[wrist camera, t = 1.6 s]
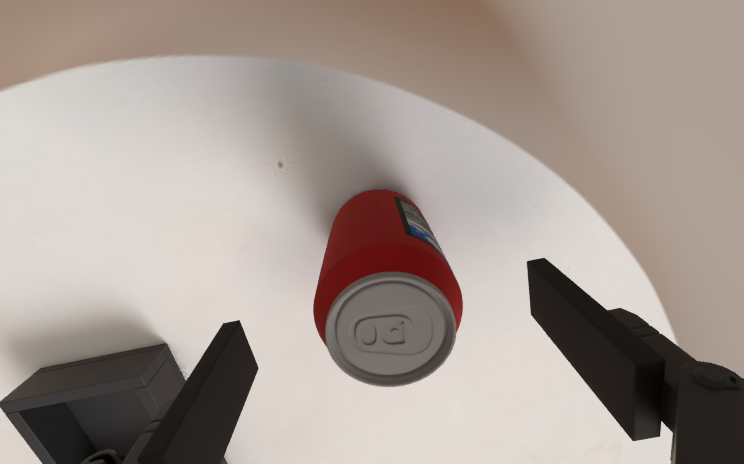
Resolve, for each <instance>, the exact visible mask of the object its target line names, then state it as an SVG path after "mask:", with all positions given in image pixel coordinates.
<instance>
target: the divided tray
mask: <svg viewBox="0 0 744 464" xmlns="http://www.w3.org/2000/svg"><path fill="white" fill-rule="evenodd" d="M185 383H186V381H185V379H184V377H183V375H182V373H181V371H180V369H179V367H178V365H177V363H176V361H175V359H174V357H173V355H172V353H171V351H170V349H169V347H168V345H167V344H162V345H157V346H152V347H147V348H142V349H137V350H132V351H127V352H122V353H117V354H112V355H107V356H102V357H97V358H92V359H87V360H82V361H77V362H72V363H67V364H62V365H57V366H52V367H47V368H42V369H39V370H38V371H36V372H35V373H34V374H33V375H32V376H31V377H29V378H28V379H27V380H26V381H25V382H23V383H22V384H21V385H20V386H18V387H17V388H16V389H15V390H14V391H12V392H11V393H10V394H9V395H8V396H6V397H5V398H4V399H3V400H2V401H0V408H1V409H2V410H3V412H4V413H6V414H5V415H6V416H7V417H8V419H9V420H10V421H11V423H12V424H13V425H14V427H15V428H16V429H17V430H18V432H19V433H20V434H21V436H22V437H23V438H24V440H25V441H26V442H27V444H28V445H29V446H30V448H31V449H32V450H33V452H34V453H35V454H36V456H37V457H38V458H39V460H40V461H41V462H42V464H80V463H81V462H83V461H84V460H85V459H87V458H88V457H90V456H92V455H94V454H96V453H97V452H100V451H103V450H107V449H110V450H115V452H116V453H117V454H118V456H119V458H120V459H121V461H122V462H123V461H124V459H125V458H126V456H127V455H128V453H129V452H130V450H131V449H132V447H133V446H134V444H135V443H136V441H137V440H138V438H139V437H140V435H141V434H143V431H144V429H145V428H146V426H147V425H148V424H150V420H151V419H152V417H153V416H154V414H155V413H156V412H157V410H158V409H159V408H160V407H161V406H162V405H163V404H164V403H165V402H166V401H167V400H168V399H169V398H170V397H173V396H177V395H178V394H179V392H180V391H181V389H182V387H183V386H184V384H185ZM221 464H227V463H226V461H225V459H224V457H223V459H222V462H221Z"/></svg>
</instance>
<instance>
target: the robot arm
mask: <svg viewBox="0 0 744 464" xmlns="http://www.w3.org/2000/svg"><path fill="white" fill-rule="evenodd" d="M527 269H528V282H529V295H530V308H531V315H532V316H533V318H534V319H535V320H536V321H537V322H538V324H539V325H540V326H541V327H542V329H543V330H544V331H545V332H546V334H547V335H548V336H549V337H550V339H551V340H552V341H553V342H554V344H555V345H556V346H557V347H558V349H559V350H560V351H561V352H562V354H563V355H564V356H565V357H566V359H567V360H568V361H569V362H570V364H571V365H572V366H573V367H574V368H575V370H576V371H577V372H578V373H579V375H580V376H581V377H582V378H583V380H584V381H585V382H586V383H587V385H588V386H589V387H590V388H591V390H592V391H593V392H594V393H595V395H596V396H597V397H598V398H599V400H600V401H601V402H602V403H603V405H604V406H605V407H606V408H607V409H608V411H609V412H610V413H611V414H612V416H613V417H614V418H615V419H616V421H617V422H618V423H619V424H620V426H621V427H622V428H623V429H624V431H625V432H626V433H627V434H628V436H629V437H630V438H631V439H632V441H637V440H643V439H648V438H654V437H660V430H661V421H662V422H663V423H664V424H665V425H666V426H667V427H668V428H669V429H670V430H671V431H672V432H673V438H672V449H671V464H744V379H743V378H741V377H740V376H738V375H737V374H736V373H735V372H733V371H731V370H729V369H727V368H725V367H723V366H719V365H716V364H712V363H708V362H700V361H696V360H695V359H694V358H692V357H691V356H690V355H688V354H687V353H686V352H685V351H683V350H682V349H681V348H679V347H678V346H677V345H675V344H674V343H673V342H672V341H670V340H669V339H668V338H666V337H665V336H664V335H662V334H659V332H658V331H657V330H656V329H655V328H653V327H652V326H649V324H648V323H647V322H645V321H644V320H643V319H641V318H640V317H639V316H638V315H636V314H633V313H631V312H629V311H626V310H624V309H622V308H618V309H613V310H606V309H605V308H604V307H602V306H601V305H600V304H599V303H598V302H597V301H595V300H594V299H593V298H592V297H591V296H589V295H588V294H587V293H586V292H585V291H583V290H582V289H581V288H580V287H579V286H577V285H576V284H575V283H574V282H573V281H572V280H570V279H569V278H568V277H567V276H566V275H564V274H563V273H562V272H561V271H560V270H558V269H557V268H556V267H555V266H554V265H552V264H551V263H550V262H549V261H548V260H546V259H545V258H541V259H536V260H531V261H527ZM257 371H258V365H257V363H256V360H255V358H254V355H253V353H252V350H251V348H250V345H249V343H248V340H247V338H246V335H245V333H244V330H243V328H242V325H241V323H240V320H238V321H233V322H228V323H223V325H222V326H221V328H220V329H219V331H218V333H217V334H216V336H215V337H214V339H213V340H212V342H211V344H210V345H209V347H208V348H207V350H206V351H205V353H204V355H203V356H202V358H201V359H200V361H199V362H198V364H197V365H196V367H195V369H194V370H193V372H192V373H191V375H190V376H189V378H188V380H187V381H186V383H185V384H184V386H183V387H182V389H181V391H180V392H179V394H178V395H177V396H173V397H170V398H169V399H168V400H167V401H166V402H165V403H164V404H163V405H162V406H161V407H160V408H159V409H158V410H157V412H156V413H155V414H154V416H153V417H152V419H151V420H150V424H148V425H147V426H146V428H145V429H144V431H143V434H141V435H140V437H139V438H138V440H137V441H136V443H135V444H134V446H133V447H132V449H131V450H130V452H129V453H128V455H127V456H126V458H125V459H124V461H123V462H122V461H121V459H120V458H119V456H118V454H117V453H116V452H115V450H110V449H107V450H103V451H100V452H97V453H96V454H94V455H92V456H90V457H88V458H87V459H85V460H84V461H83V462H81V463H80V464H221V462H222V459H223V457H224V454H225V452H226V449H227V447H228V444H229V442H230V439H231V437H232V434H233V432H234V429H235V427H236V424H237V422H238V419H239V416H240V414H241V411H242V409H243V406H244V404H245V401H246V399H247V396H248V394H249V391H250V389H251V386H252V384H253V381H254V379H255V376H256V374H257Z"/></svg>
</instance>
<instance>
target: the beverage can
mask: <svg viewBox="0 0 744 464" xmlns="http://www.w3.org/2000/svg"><path fill="white" fill-rule="evenodd" d="M462 309H463V301H462V294H461V290H460V287H459V284H458V282H457V280H456V278H455V276H454V274H453V272H452V270H451V268H450V266H449V264H448V262H447V260H446V258H445V256H444V254H443V252H442V250H441V248H440V246H439V244H438V242H437V240H436V238H435V236H434V235H433V233H432V231H431V229H430V227H429V225H428V224H427V222H426V220H425V218H424V217H423V215H422V213H421V211H420V210H419V209H418V207H417V206H416V205H415V204H414V203H413V202H412V201H411V200H409V199H408V198H406V197H405V196H403V195H401V194H398V193H396V192H392V191H387V190H374V191H368V192H364V193H362V194H359V195H357V196H355V197H354V198H352V199H351V200H349V201H348V202H347V203H346V204H345V205H344V206H343V207H342V208H341V209H340V211H339V212H338V214H337V215H336V217H335V220H334V223H333V226H332V229H331V233H330V236H329V240H328V244H327V248H326V251H325V255H324V259H323V263H322V268H321V272H320V276H319V281H318V285H317V289H316V294H315V299H314V306H313V313H314V320H315V324H316V328H317V330H318V333H319V335H320V337H321V339H322V341H323V342H324V344H325V345H326V346H327V348H328V351H329V353H330V355H331V357H332V359H333V360H334V361H335V363H336V364H337V365H338V366H339V367H340V368H341V369H342V370H343V371H344V372H345V373H346V374H348V375H349V376H351V377H353V378H354V379H356V380H358V381H361V382H363V383H366V384H370V385H374V386H382V387H395V386H403V385H407V384H411V383H414V382H417V381H419V380H421V379H423V378H425V377H427V376H429V375H430V374H432V373H433V372H434V371H436V370H437V369H438V368H439V367H440V366H441V365H442V364H443V363H444V362H445V360H446V359H447V358H448V356H449V354H450V353H451V351H452V348H453V346H454V342H455V339H456V333H457V330H458V328H459V325H460V322H461V317H462Z"/></svg>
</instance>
